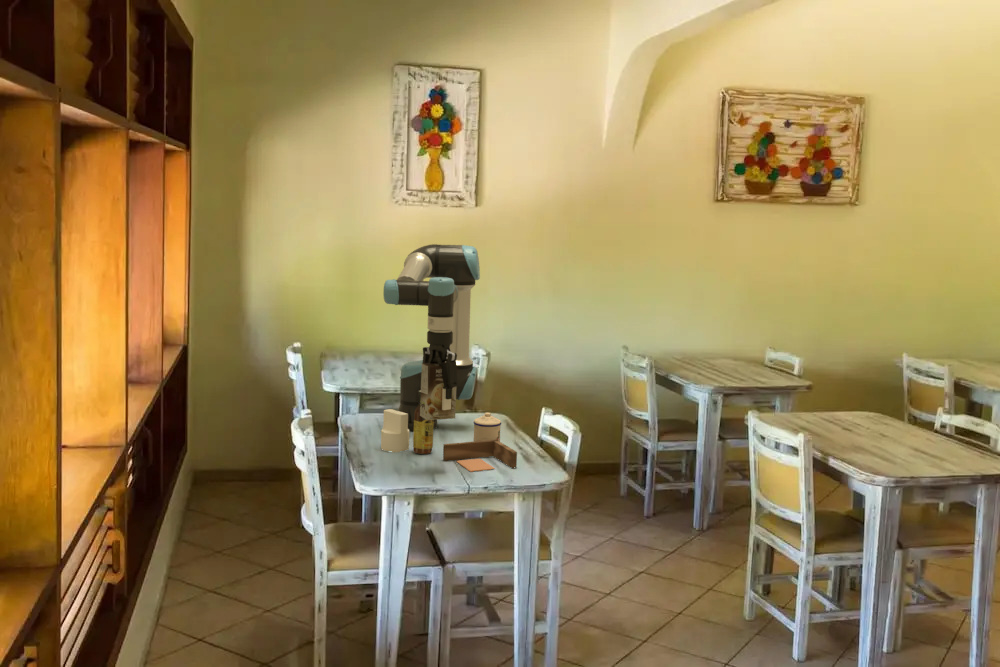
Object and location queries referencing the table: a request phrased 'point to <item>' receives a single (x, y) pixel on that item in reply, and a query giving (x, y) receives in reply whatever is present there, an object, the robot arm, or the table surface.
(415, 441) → the sauce bottle
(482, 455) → the walnut corner walls
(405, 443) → the base with upright slab
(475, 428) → the teacup with lid
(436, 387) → the coffee box
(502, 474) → the table surface
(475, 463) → the terracotta mat
